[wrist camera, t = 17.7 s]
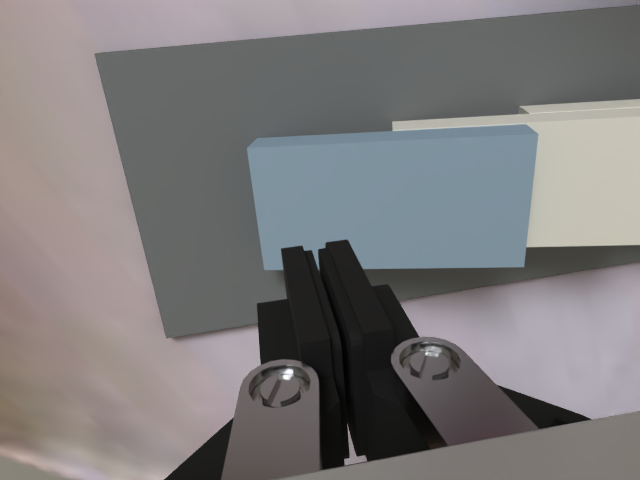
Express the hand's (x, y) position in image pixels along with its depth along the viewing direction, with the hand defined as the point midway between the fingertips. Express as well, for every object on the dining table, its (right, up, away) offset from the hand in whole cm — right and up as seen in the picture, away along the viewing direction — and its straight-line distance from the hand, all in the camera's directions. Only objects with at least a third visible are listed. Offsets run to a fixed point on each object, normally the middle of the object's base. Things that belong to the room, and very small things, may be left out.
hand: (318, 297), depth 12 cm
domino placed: (-2, +3, +7) cm, 8 cm away
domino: (+3, +4, +8) cm, 9 cm away
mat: (+7, +5, +9) cm, 13 cm away
